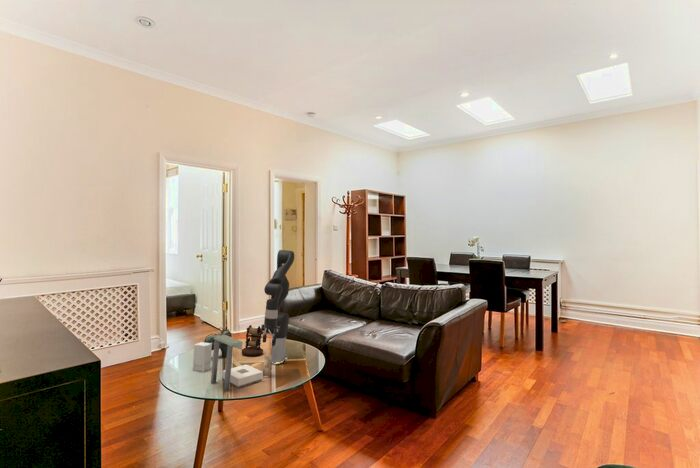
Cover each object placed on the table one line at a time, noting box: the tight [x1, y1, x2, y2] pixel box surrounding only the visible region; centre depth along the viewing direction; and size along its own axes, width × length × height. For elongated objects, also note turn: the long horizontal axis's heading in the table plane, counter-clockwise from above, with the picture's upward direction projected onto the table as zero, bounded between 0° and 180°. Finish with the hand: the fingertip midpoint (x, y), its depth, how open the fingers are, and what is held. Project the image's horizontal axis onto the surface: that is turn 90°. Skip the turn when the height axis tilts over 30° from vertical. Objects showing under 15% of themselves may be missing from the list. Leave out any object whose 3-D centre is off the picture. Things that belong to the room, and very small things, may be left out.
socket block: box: [221, 363, 263, 389], centre depth 198 cm, size 16×16×5 cm
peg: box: [262, 354, 271, 377], centre depth 206 cm, size 4×4×12 cm
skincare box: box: [192, 341, 213, 373], centre depth 209 cm, size 8×7×16 cm
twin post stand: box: [210, 335, 243, 392], centre depth 189 cm, size 7×17×25 cm, turn 52°
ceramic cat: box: [203, 327, 233, 358], centre depth 230 cm, size 20×6×20 cm, turn 139°
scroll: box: [241, 324, 264, 357], centre depth 245 cm, size 15×15×20 cm
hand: (268, 343), depth 207 cm, fingers open, 8 cm apart
